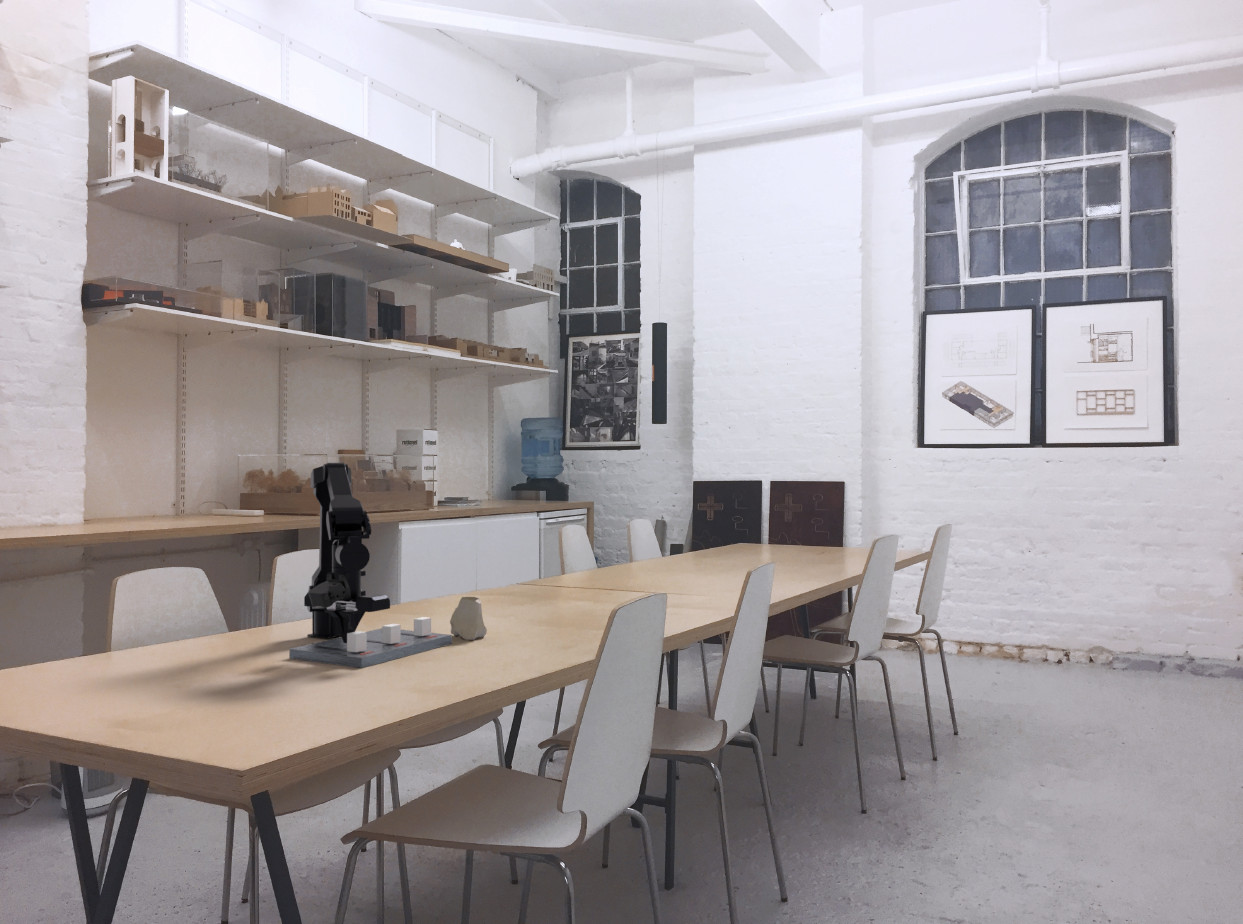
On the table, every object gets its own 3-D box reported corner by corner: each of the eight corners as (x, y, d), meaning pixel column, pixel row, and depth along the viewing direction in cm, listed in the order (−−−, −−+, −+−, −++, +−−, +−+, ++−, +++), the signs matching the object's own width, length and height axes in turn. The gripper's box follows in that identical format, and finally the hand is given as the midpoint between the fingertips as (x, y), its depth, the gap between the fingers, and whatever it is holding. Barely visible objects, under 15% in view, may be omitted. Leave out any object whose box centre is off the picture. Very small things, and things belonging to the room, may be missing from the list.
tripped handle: (347, 651, 187) (347, 633, 187) (357, 648, 190) (357, 631, 190) (356, 652, 186) (355, 634, 186) (366, 649, 189) (366, 631, 189)
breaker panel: (289, 658, 192) (289, 648, 192) (383, 636, 216) (383, 627, 216) (361, 668, 182) (361, 657, 182) (451, 643, 207) (451, 634, 207)
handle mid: (382, 642, 196) (382, 625, 196) (391, 640, 199) (391, 623, 199) (390, 643, 195) (390, 626, 195) (400, 641, 198) (400, 624, 198)
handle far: (413, 635, 205) (413, 618, 205) (422, 632, 208) (422, 616, 208) (422, 636, 204) (422, 619, 204) (431, 633, 206) (431, 617, 206)
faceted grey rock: (486, 646, 215) (498, 604, 218) (470, 639, 208) (484, 597, 211) (453, 639, 218) (466, 598, 221) (437, 632, 212) (451, 590, 215)
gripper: (283, 568, 187) (283, 645, 187) (351, 572, 178) (351, 654, 178) (325, 563, 197) (325, 636, 196) (391, 567, 188) (392, 644, 188)
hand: (346, 642), depth 189 cm, fingers closed
